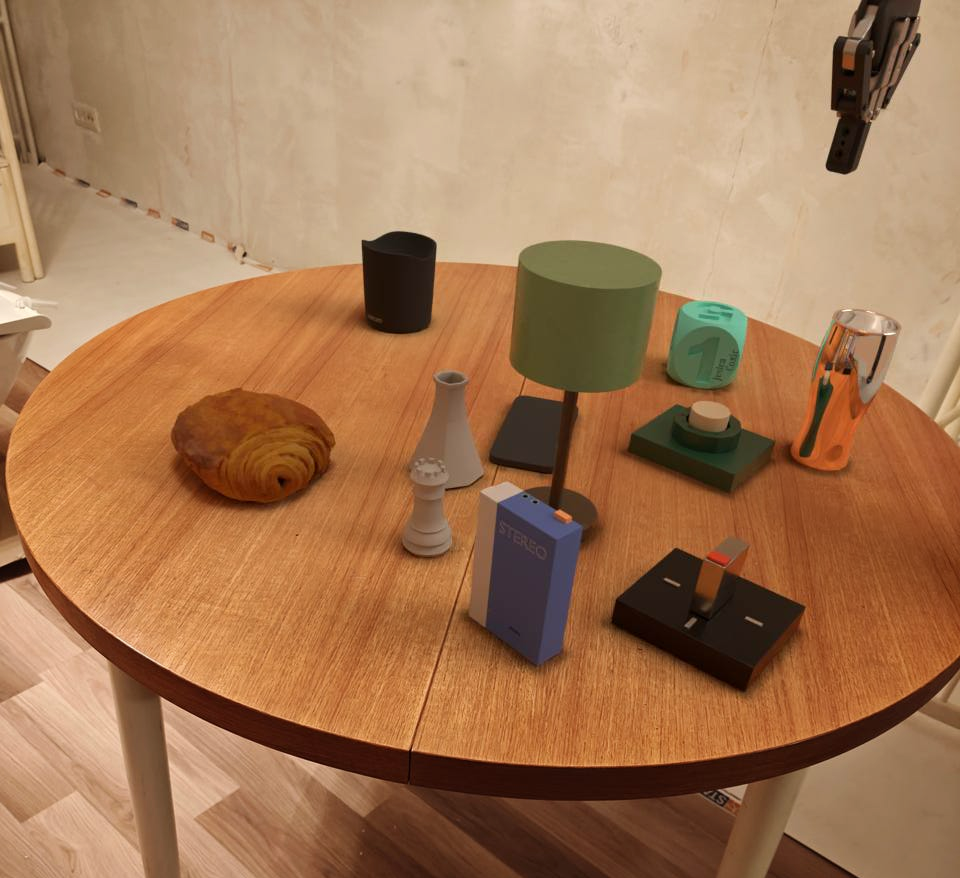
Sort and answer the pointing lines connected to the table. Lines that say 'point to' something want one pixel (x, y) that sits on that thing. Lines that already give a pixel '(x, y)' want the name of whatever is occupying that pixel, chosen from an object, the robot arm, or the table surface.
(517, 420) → the phone
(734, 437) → the switch base
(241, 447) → the croissant
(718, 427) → the button
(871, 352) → the chrome tumbler
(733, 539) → the dimmer knob
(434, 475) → the rook chess piece
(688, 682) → the table surface
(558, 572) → the walkman
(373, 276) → the pen holder
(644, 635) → the panel
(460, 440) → the flask
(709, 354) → the decorative dice
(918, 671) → the table surface
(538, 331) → the table lamp
